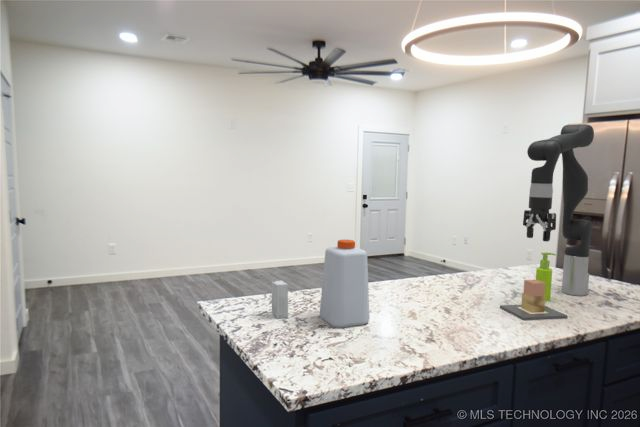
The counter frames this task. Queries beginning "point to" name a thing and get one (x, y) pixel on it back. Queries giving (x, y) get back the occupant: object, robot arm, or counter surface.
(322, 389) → the counter surface
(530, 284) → the terracotta block
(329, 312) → the plastic bottle
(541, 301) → the ochre block
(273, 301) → the skincare box
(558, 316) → the grey flat slab
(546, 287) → the soap dispenser
